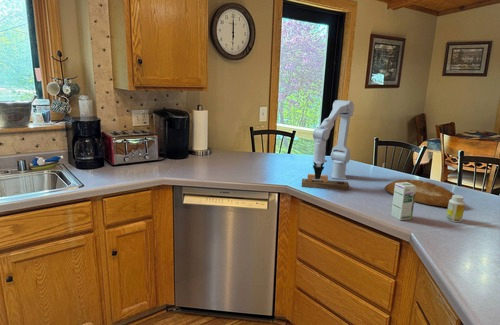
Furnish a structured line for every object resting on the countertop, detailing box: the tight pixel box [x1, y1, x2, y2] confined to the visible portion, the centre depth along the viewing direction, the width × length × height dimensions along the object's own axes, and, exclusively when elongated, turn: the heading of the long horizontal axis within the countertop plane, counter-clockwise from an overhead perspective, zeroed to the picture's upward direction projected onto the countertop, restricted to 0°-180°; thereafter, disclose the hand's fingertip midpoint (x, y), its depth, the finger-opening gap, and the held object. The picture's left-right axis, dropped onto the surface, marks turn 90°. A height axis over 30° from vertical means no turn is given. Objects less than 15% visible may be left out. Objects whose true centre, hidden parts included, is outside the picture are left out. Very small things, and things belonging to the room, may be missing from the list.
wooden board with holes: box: [301, 178, 350, 191], centre depth 176 cm, size 7×24×2 cm, turn 81°
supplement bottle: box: [445, 194, 466, 223], centre depth 136 cm, size 6×6×10 cm
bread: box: [384, 179, 456, 208], centre depth 161 cm, size 18×35×9 cm, turn 45°
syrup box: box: [390, 182, 416, 221], centre depth 136 cm, size 6×6×14 cm
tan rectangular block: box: [306, 173, 329, 183], centre depth 176 cm, size 2×10×6 cm, turn 78°
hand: (317, 177), depth 175 cm, fingers open, 7 cm apart
